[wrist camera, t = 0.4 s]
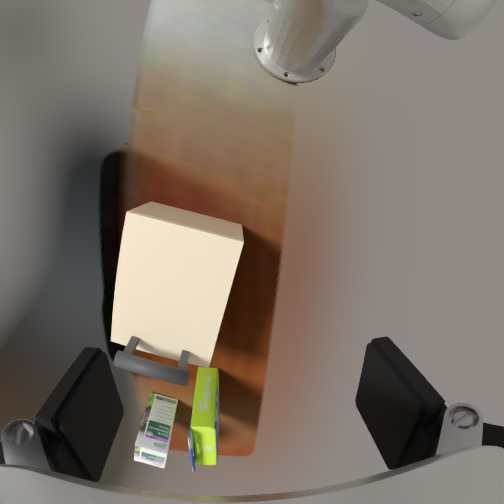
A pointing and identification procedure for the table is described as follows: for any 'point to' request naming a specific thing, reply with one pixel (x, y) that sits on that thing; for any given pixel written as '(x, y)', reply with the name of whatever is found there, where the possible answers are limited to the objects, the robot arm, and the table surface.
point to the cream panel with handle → (170, 294)
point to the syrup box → (156, 430)
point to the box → (205, 418)
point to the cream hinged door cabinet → (191, 219)
